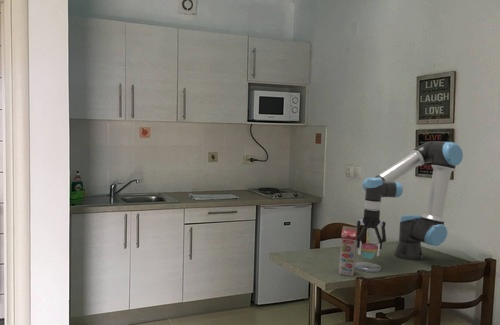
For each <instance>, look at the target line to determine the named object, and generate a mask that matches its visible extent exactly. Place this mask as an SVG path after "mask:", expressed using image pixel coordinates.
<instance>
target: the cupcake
mask: <svg viewBox="0 0 500 325" xmlns="http://www.w3.org/2000/svg"><path fill="white" fill-rule="evenodd" d="M366 236H367V237H366V238H367V240H366V241H367V242H365V243H362V245H361V254H362V257H363V258H364V259H373V258H374V256H375V255H376V252H377V251H378V248H377V245H375V243H370V240H369V233H367V234H366Z"/></svg>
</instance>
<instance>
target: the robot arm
mask: <svg viewBox="0 0 500 325" xmlns="http://www.w3.org/2000/svg"><path fill="white" fill-rule="evenodd" d="M463 156H464V154H463V150H462V148H461V146H460V145H459V144H458V143H455V142H451V141H438V140H430V141H427V142H425V143H422V144H421V145H419V146H416V147H415V148H413V149H412V150H410V152H409V154H408V155H406V156H404V158H402V159H400V160H398V161H397V162H396V163H394V164H393V165H391V166H389V167H388V168H385V170H383V171H381V172H379V174H377V175H376V176H374V177H367V178H365V179H363V182H362V189H363V190H364V191H365V195H364V196H365V197H364V210H363V218H362V219H356V226H355V228H357V242H356V249H357V254H358V256H362V255H361V254H362V251H361V245H362V244H363V243H362V241H361V240H362V239H363V237H364V235H365V233H366V231H367V230H368V229H374V231H375V232H374V233H375V235H376V237H377V239H378V240H377V241H376V246H377V248H378V251H377V252H375V255H376V256H377V257H379V256H380V250H381V249H382V247H383V246H382V245H383V243H386V242H387V237H386V236H387V235H386V224H387V223H386V222H385V221H384V220H380V215H381V204H382V203H381V202H382V198H399V197H401V196H402V195H403V191H404V188H403V185H402V184H401V183H400V182H397V180H399V179H400V178H401V177H403V176H404V175H405V176H406V174H408V173H409V172H411V171H412V170H415V169H416V168H418V167H422V166H423V165H425V164H429V163H431V167H432V176H431V180H430V184H429V185H430V186H429V191H428V197H427V201H426V206H425V211H424V213H423V214H422V215H420V214H419V215H418V214H417V215H416V214H415V215H414V214H404V215H401V216H400V221H399V230H398V231H399V235H398V241H397V245H396V247H395V248H394V254H393V255H394V256H395V257H397V258H400V259H404V260H409V261H420V260H421V261H422V260H423V259H424V251H423V249H422V248H423V247H422V244H423V243H424V244H426V245H429V246H433V247H434V246H435V247H437V246H440V245H441V244H442V243H444V242H445V240H446V239H447V237H448V229H447V227H446V226H445V220H444V218H443V215H444V209H445V204H446V200H447V194H448V191H449V184H450V180H451V175H452V172H453V171H455V170H456V166H458V165H460V164H461V163H462V160H463V158H464V157H463ZM362 224H364V225H363V227H362V229H361V231H360V228H361V225H362ZM379 225H380V228H381V229H380V230H381V234H380V232H379V231H380V230H379V228H378V226H379Z"/></svg>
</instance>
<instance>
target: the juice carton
mask: <svg viewBox="0 0 500 325" xmlns="http://www.w3.org/2000/svg"><path fill="white" fill-rule="evenodd" d="M357 238H358V236H357V228H356V227H353V226H347V225H343V226H342V230H341V238H340V253H339V264H338V265H339V266H338V274H339V275H344V276H345V275H346V276H351V277H354V275H353V274H355V263H356V252H357Z"/></svg>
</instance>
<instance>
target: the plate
mask: <svg viewBox="0 0 500 325" xmlns="http://www.w3.org/2000/svg"><path fill="white" fill-rule="evenodd" d="M355 269H356V270H357V271H360V272H364V273H380V272H382V266H381V265H380V264H377V263H373V262H367V261H357V262H355V268H354V270H355Z"/></svg>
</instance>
